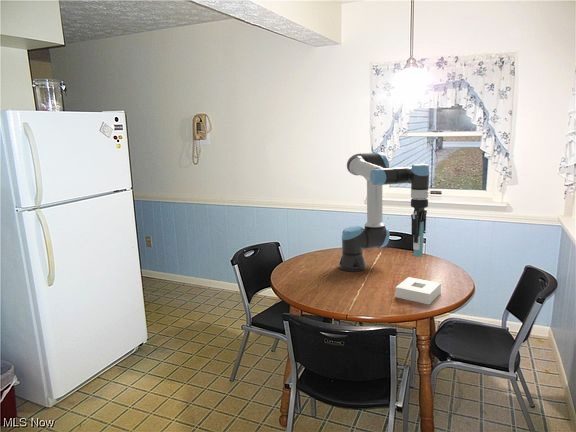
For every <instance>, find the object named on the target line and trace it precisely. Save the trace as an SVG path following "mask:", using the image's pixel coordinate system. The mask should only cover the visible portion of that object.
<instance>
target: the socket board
mask: <svg viewBox="0 0 576 432" xmlns="http://www.w3.org/2000/svg"><path fill="white" fill-rule="evenodd" d="M441 293H442V283H441V282H437V281H432V280H427V279H426V280H425V279H420V278H417V277H415V278H414V277H410V276H408V277H407V278H405V279H404V280H403V281H402V282H401V283H399V284H398V285H397V286H395V294H394V295H395V298H397V299H403V300H406V301H411V302H416V303H420V304H423V305H424V304H425V305H430V304H432V302H434V301H435V299H436V298H437V297H438V296H439V295H441Z"/></svg>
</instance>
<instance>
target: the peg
mask: <svg viewBox="0 0 576 432" xmlns="http://www.w3.org/2000/svg"><path fill="white" fill-rule="evenodd" d="M423 223H424V222H420V231H419V236H420V250H415V249H413V257H417V258H422V257H423V256H424V255H423V253H424V240H423V234H424V233H423Z"/></svg>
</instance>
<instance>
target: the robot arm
mask: <svg viewBox="0 0 576 432" xmlns="http://www.w3.org/2000/svg"><path fill="white" fill-rule="evenodd" d="M346 169H347V171H348V172H349V173H350V174H351V175H354V176H357V177H358V176H360V177H363V178H364V179H365V180H366V223H364V227H362V226H360V225H353V226H348V227H345V228H344V229H343V230H342V234H341V246H342V247H341V249H342V250H341V254H342V255H341V257H340V260H339V263H338V267H339V269H340V270H341V271H346V272H352V273H353V272H361V271H363V270H366V268H367V264H366V261H365V257H364V253H363V252H364V251H363V250H369V249H375V248H376V249H379V248H384V247H386V246H387V244H388V243H389V241H390V232H389V231H390V230H389V228H388V227H387V226H386V224H385V222H383V186H385V185H399V184H410V207H411V208H413V209H414V210H413V213H411V215H410V218H411V219H410V220H411V236H412V237H413V244H412V245H413V246H412V247H413V248H412V249H413V250H414V249H415V250H420V236H419V231H420V222H424V223H423V241H424V234H426V233H427V231H426V229H427V228H426V227H427V213H428V210H427V209H426V210H425V208H428V207H429V199H428V198H429V194H430V191H429V187H430V186H429V185H430V183H429V182H430V166H429V164H427V163H415V164H412V165H411V166H408V165H407V166H401V167H390V161H389V158H388V156H387V155H386V154H385V153H384V152H367V153H365V152H363V153H355V154H353V155H352V156H351V157H349V158H348V160H347V163H346Z"/></svg>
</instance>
